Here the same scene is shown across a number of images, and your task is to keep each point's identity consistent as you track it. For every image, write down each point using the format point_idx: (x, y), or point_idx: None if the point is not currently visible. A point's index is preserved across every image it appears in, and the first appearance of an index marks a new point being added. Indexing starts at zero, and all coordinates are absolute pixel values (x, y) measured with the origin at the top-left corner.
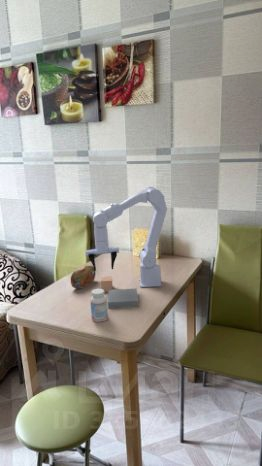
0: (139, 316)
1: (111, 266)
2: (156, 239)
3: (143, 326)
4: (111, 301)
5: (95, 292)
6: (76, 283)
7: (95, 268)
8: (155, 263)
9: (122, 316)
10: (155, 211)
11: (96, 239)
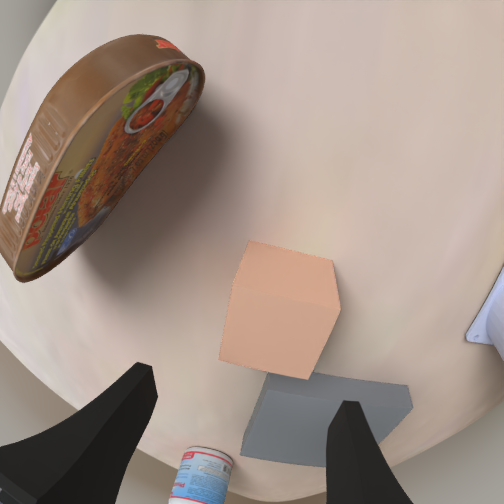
0: (322, 475)
1: (335, 434)
2: None
3: (310, 491)
4: (254, 455)
5: None
6: (62, 246)
7: (145, 422)
8: None
9: (277, 468)
10: None
11: None
